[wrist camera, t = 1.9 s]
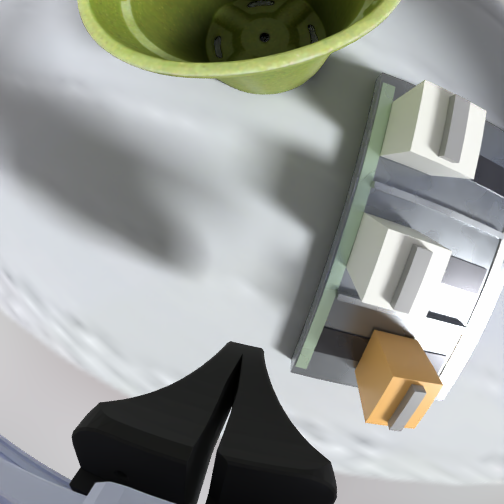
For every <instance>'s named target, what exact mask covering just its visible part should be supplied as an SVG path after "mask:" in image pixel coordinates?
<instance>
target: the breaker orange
mask: <svg viewBox="0 0 504 504" xmlns="http://www.w3.org/2000/svg"><path fill="white" fill-rule="evenodd" d="M355 375H356V380H357V384H358V389H359V394H360V398H361V403H362V408H363V413H364V418H365V423H371V424H379V425H386V426H389V430H394V431H402V429H403V428H415V427H416V426H417V424H418V423H419V422H420V420H421V419H422V417H423V416H424V414H425V413H426V411H427V410H428V409H429V407H430V406H431V404H432V403H433V401H434V400H435V398H436V396H437V395H438V393H439V392H440V390H441V389H442V387H443V383H442V381H441V379H440V378H439V376H438V374H437V372H436V371H435V369H434V367H433V365H432V364H431V362H430V360H429V359H428V357H427V355H426V353H425V352H424V350H423V348H422V347H421V345H420V343H419V342H418V340H416V339H412V338H407V337H403V336H399V335H395V334H391V333H387V332H383V331H378V330H374V331H373V333H372V336H371V338H370V340H369V342H368V344H367V346H366V349H365V351H364V353H363V355H362V357H361V359H360V361H359V363H358V365H357V367H356V369H355Z"/></svg>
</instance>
